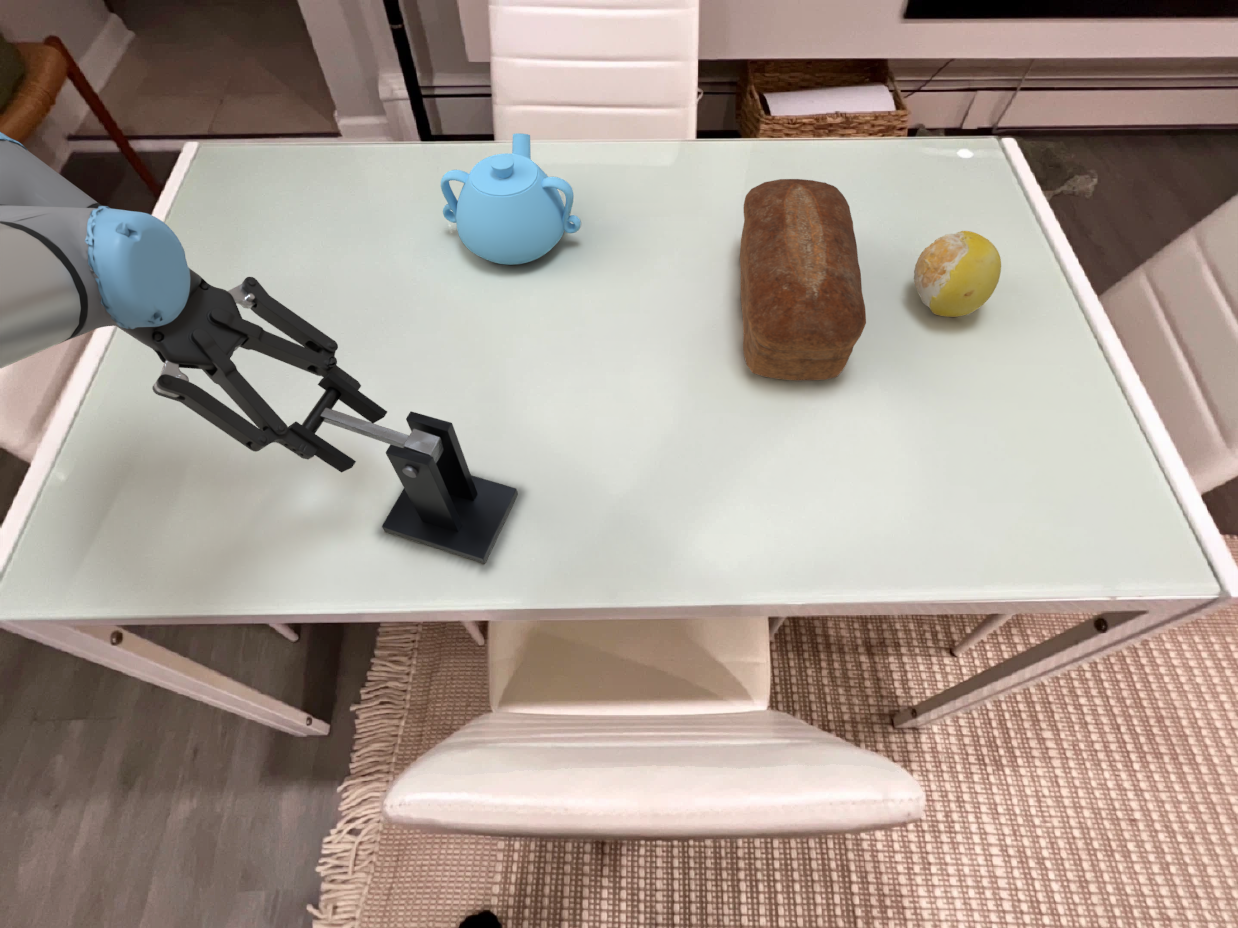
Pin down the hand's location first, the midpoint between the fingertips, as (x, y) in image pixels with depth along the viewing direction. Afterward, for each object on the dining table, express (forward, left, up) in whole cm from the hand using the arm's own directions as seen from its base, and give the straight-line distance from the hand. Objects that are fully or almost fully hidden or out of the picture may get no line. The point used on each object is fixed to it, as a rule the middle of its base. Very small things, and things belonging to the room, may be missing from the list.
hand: (364, 441), depth 70 cm
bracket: (+4, -6, -11) cm, 13 cm away
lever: (+1, -2, +1) cm, 2 cm away
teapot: (+38, +27, -11) cm, 47 cm away
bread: (+55, -10, -11) cm, 57 cm away
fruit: (+71, -23, -11) cm, 75 cm away
